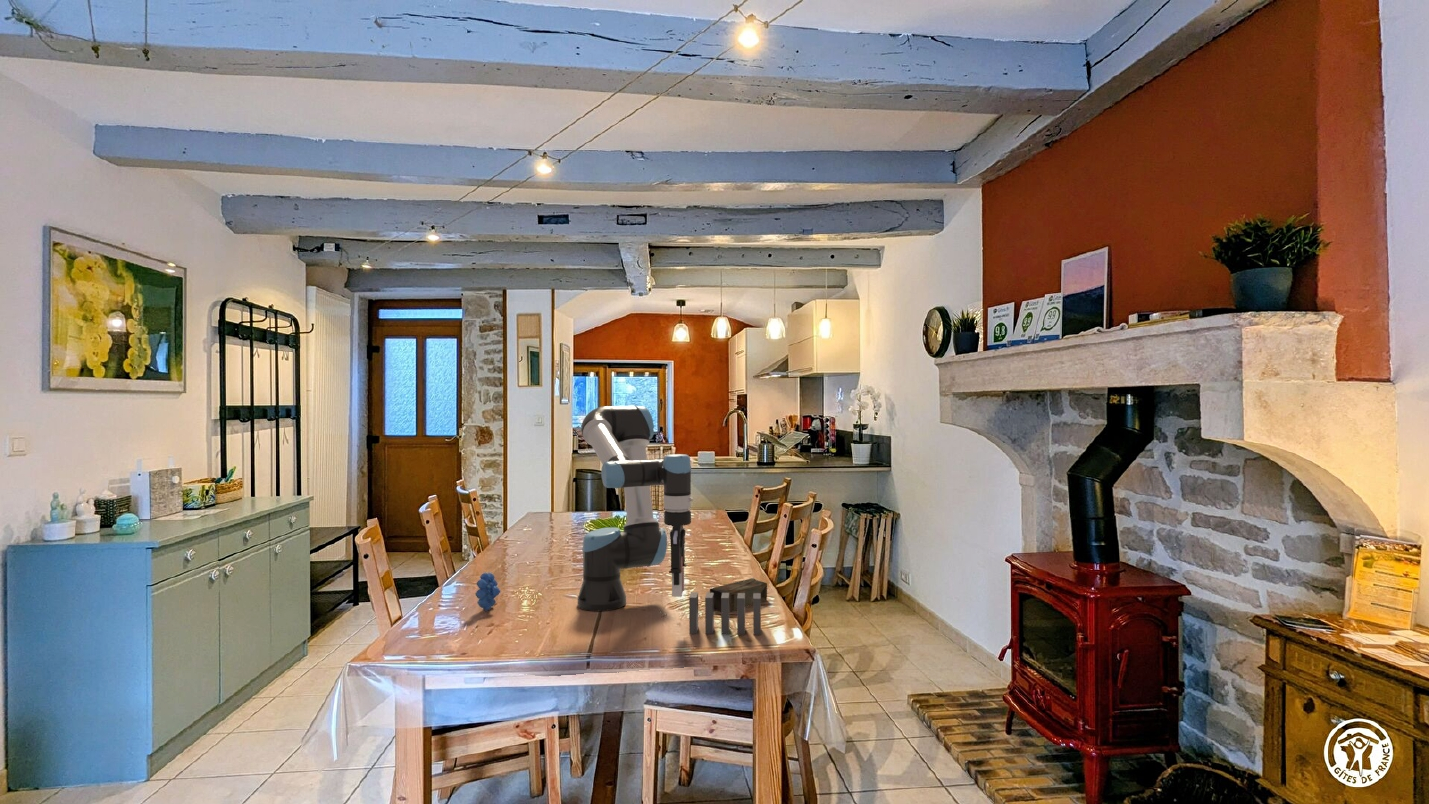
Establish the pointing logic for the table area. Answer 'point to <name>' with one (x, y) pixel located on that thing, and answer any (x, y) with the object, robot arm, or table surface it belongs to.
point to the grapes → (487, 591)
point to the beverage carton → (739, 587)
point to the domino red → (682, 571)
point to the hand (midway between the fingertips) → (678, 593)
